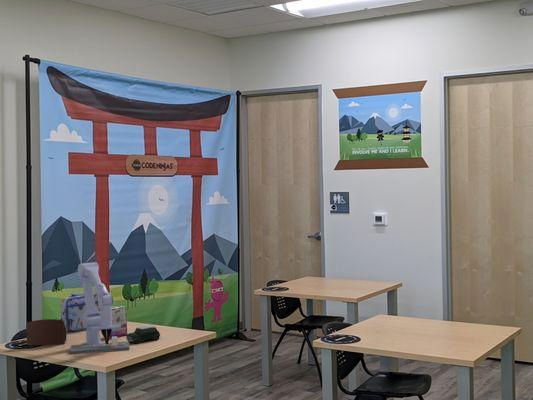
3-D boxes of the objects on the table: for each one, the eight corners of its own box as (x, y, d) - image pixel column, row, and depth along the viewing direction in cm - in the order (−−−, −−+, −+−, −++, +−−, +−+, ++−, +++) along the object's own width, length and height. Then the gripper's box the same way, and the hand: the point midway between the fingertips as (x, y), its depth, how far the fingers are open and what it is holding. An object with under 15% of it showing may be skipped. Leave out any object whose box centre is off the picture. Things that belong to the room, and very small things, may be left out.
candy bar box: (123, 334, 409) (122, 305, 409) (127, 335, 405) (126, 306, 405) (105, 337, 402) (104, 308, 401) (110, 338, 398) (109, 309, 398)
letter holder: (64, 344, 386) (64, 318, 386) (26, 346, 383) (25, 320, 383) (66, 340, 396) (65, 315, 396) (29, 343, 393) (28, 317, 393)
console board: (71, 348, 375) (71, 345, 375) (129, 344, 381) (129, 341, 381) (69, 354, 362) (69, 350, 362) (129, 349, 367) (129, 346, 367)
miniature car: (124, 342, 387) (124, 327, 387) (154, 337, 398) (153, 323, 398) (132, 345, 380) (131, 330, 380) (162, 339, 391) (161, 325, 391)
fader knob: (112, 344, 373) (111, 336, 373) (116, 343, 373) (116, 336, 373) (112, 345, 368) (111, 338, 368) (116, 345, 369) (116, 337, 369)
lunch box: (66, 334, 414) (65, 296, 414) (58, 331, 422) (56, 294, 422) (108, 326, 433) (106, 290, 432) (99, 324, 440) (98, 289, 440)
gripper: (91, 320, 365) (92, 346, 365) (120, 318, 367) (121, 344, 368) (92, 317, 371) (92, 343, 372) (120, 315, 374) (121, 341, 375)
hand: (106, 343), depth 370 cm, fingers closed
